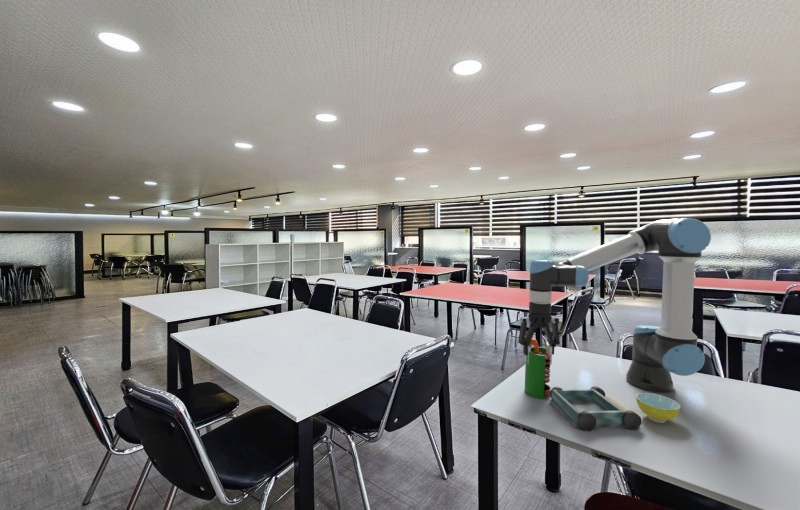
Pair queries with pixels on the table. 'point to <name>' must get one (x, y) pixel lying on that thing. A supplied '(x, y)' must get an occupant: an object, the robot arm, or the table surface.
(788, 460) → the table surface
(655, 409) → the bowl
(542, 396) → the motor
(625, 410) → the chassis
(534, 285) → the robot arm
